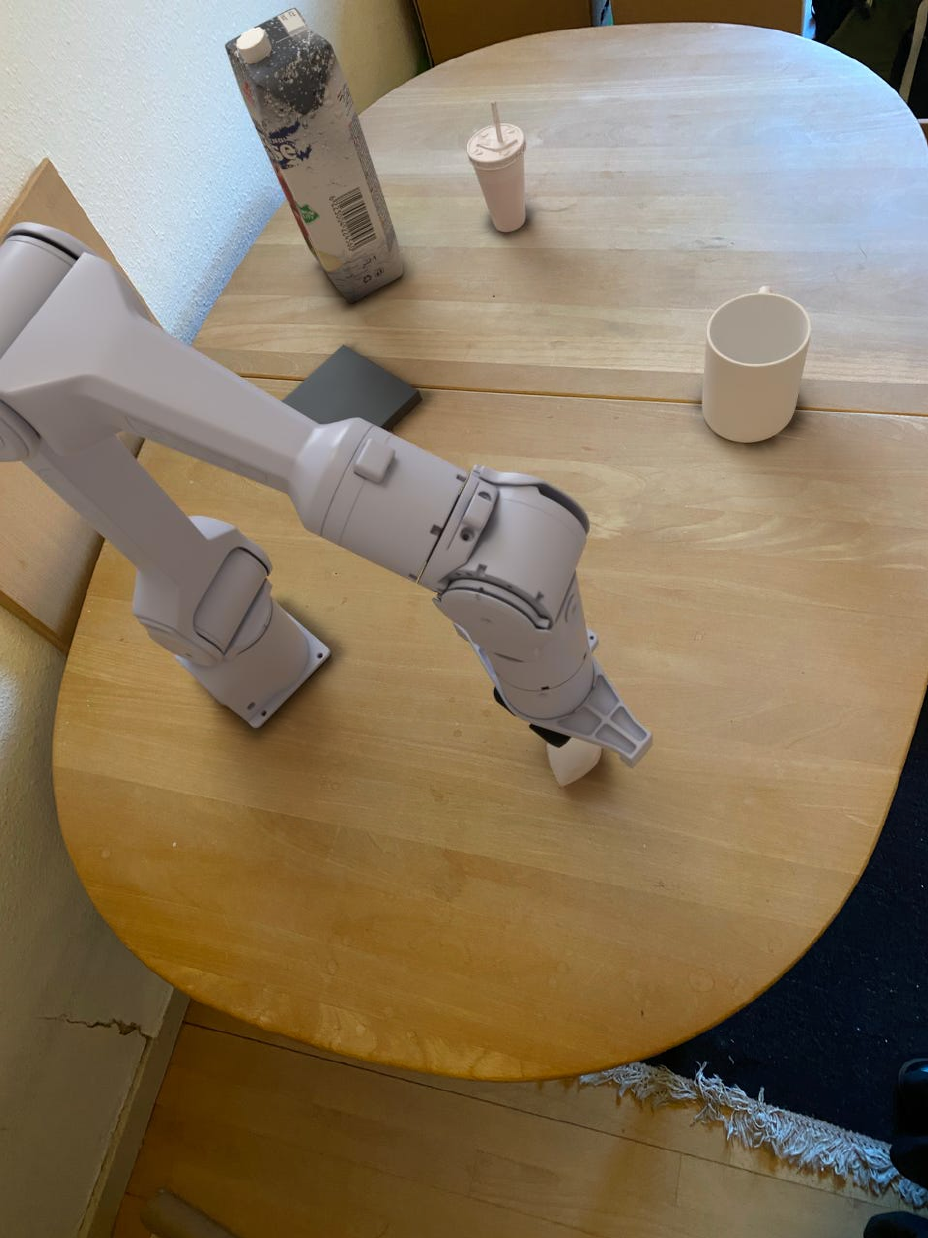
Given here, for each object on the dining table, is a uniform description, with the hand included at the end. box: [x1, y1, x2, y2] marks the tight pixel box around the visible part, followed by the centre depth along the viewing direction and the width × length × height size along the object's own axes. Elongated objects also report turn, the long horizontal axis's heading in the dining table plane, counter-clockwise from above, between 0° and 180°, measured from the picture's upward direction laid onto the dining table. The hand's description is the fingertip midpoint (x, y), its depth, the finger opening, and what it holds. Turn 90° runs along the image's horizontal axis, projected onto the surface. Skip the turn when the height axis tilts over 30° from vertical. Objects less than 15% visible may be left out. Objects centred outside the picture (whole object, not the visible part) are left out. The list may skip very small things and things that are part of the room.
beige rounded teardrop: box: [546, 737, 603, 787], centre depth 65 cm, size 4×5×2 cm
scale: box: [280, 344, 423, 432], centre depth 87 cm, size 14×12×3 cm
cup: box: [701, 285, 813, 444], centre depth 74 cm, size 8×12×10 cm
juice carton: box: [224, 7, 404, 304], centre depth 86 cm, size 9×10×27 cm
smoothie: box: [466, 99, 527, 233], centre depth 90 cm, size 6×6×14 cm
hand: (561, 725), depth 59 cm, fingers closed
